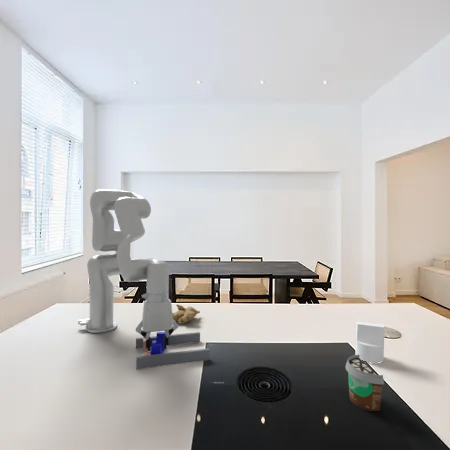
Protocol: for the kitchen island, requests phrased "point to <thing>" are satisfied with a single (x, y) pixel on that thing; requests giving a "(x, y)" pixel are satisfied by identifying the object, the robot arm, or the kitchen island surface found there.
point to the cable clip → (158, 344)
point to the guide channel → (172, 357)
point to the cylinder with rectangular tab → (370, 341)
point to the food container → (364, 384)
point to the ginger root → (184, 314)
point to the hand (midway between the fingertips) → (157, 348)
